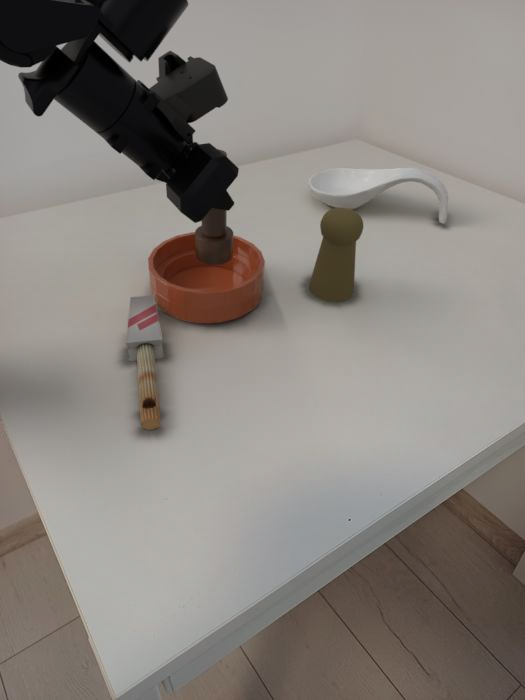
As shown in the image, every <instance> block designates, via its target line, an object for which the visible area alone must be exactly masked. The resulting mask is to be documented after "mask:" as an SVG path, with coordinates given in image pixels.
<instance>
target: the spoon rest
mask: <svg viewBox="0 0 525 700" xmlns="http://www.w3.org/2000/svg"><path fill="white" fill-rule="evenodd" d="M408 182H414V183H419V184H422V185H424V186H426V187H427V188H429V189H431V190H432V192H433V193H434V194H435V195H436V197H437V199H438V202H439V203H438V204H439V210H438V223H440V224H441V225H444V224H446V223H447V219H448V213H449V210H448V209H449V193H448V191H447V190H448V189H447V188H446V186H445V184H444V183H443V182H442V181H441V180H440V179H439V178H438V177H437V176H436V175H433V174H432V173H430V172H428V171H427V170H424V169H419V168H416V167H394V168H392V167H391V168H355V167H354V168H352V167H336V168H335V167H333V168H328V169H322V170H320V171H317V172H315V173H313V174H312V175H311V177H309V179H308V183H307V184H308V185H307V186H308V187H309V189H310V192H311V193H312V194H313V196H314V197H315V198H317V199H318V200H319V202H322V204H325V205H327V206H329V207H331V208H333V209H335V208H346V209H350V210H353V211H354V210H356V209H358V208H360V207H362V206H363V205H365V204H367V203H368V202H370V201H371V200H373V199H374V198H376V197H377V196H379V195H380V194H382V193H383V192H385V191H387V190H389V189H391V188H392V187H395V186H397V185H399V184H402V183H408Z"/></svg>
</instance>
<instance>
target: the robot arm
mask: <svg viewBox="0 0 525 700" xmlns="http://www.w3.org/2000/svg"><path fill="white" fill-rule="evenodd" d="M188 7H189V2H188V0H0V62H3V63H5V64H6V65H9V66H12V67H17V68H21V69H22V68H32V67H33V66H35V65H38V64H39V65H38V67H37V68H36V70H34V71H29V72H23V71H22V72H21V71H20V72H19V73H18V74H17V75H18V76H17V78H18V79H19V81H20V83H21V85H22V87H23V91H24V92H23V93H24V101H25V103H26V104H27V106H28V108H29V109H30V111H31V112H32V113H33V115H34V116H36V117H38V118H39V117H42V116H43V115H44V114H45V113H46V111H47V110H48V108H49V107H50V105H51V104H52V102H53V101H55V102H56V103H58V104H59V105H61V106H62V107H63V108H65V110H67V111H68V112H69V113H70V114H72V115H73V116H74V117H76V118H77V119H78V120H80V121H81V122H82V123H84V124H85V125H86V126H87V127H88V128H90V129H91V130H92V131H94V133H96V134H97V135H99V136H100V138H102V139H103V140H104V141H105V142H106V143H107V144H108V145H109V146H110V147H111V148H112V149H113V150H114V151H116V152H117V153H118V154H123V155H124V156H125V157H127V158H128V159H129V160H131V161H132V162H133V163H134V164H135V165H137V166H138V167H139V168H140V170H142V171H143V172H144V174H145V175H147V176H148V177H149V178H150V179H151V180H153V181H155V180H156V181H159V182H162V183H165V189H166V190H165V192H166V198H167V199H168V200H169V201H170V202H171V204H172V205H173V206H174V207H175V208H177V210H178V211H179V212H180V213H181V214H182V215H184V216H185V217H186V218H187V219H189V220H190V221H192V222H193V223H194V224H197V223H200V222H202V220H203V218H204V217H205V216H206V215H207V213H208V212H209V211H210V210H211V208H215V209H221V210H226V211H227V212H229V211H230V210H231V209H232V208H233V206H235V201H234V200H233V198H232V196H231V195H230V193H229V192H228V189H229V188H230V187H231V185H232V184H233V183H234V181H235V180H236V179H237V178H238V177H239V170H240V168H239V167H238V166H237V165H236V164H235V163H234V162H233V161H232V160H230V158H229V157H228V156H227V157H226V156H225V155H224V154H223V153H221V152H220V151H219V150H220V149H219V148H217V147H215V146H214V145H213V144H211V143H210V142H206V143H198V142H197V141H194V134H195V133H196V129H195V128H194V127H192V125H190V124H192V123H195V122H196V121H198V120H199V119H201V118H202V117H204V116H206V115H207V114H209V113H210V112H212V111H213V110H215V109H216V108H218V109H219V108H221V107H223V106H225V105H226V104H227V102H228V100H229V97H228V95H227V92H226V90H225V87H224V85H223V83H222V80H221V76H220V74H219V72H218V69H217V67H216V65H215V64H213V63H211V62H210V61H208V60H206V59H204V58H202V57H200V56H199V57H192V56H191V55H190V56H189V57H187V58H186V59H187V61H186V60H185V59H183V58H182V57H181V56H180V55H178V54H177V53H175V52H174V51H172V50H169V51H167V52H165V53H164V54H162V55H161V56H159V57H158V58H157V59H158V62H157V63H158V77H155V79H156V83H155V84H153V85H152V86H151V87H148V86H147V85H145V84H144V83H143V82H142V81H141V80H139V79H137V80H136V79H135V78H134V77H133V76H132V75H131V74H130V73H129V72H128V71H127V70H125V69H124V67H122V66H121V65H120V64H119V63H118V62H117V60H115V59H114V58H113V57H112V56H111V55H109V54H108V52H107V51H106V50H105V49H103V48H102V47H101V46H100V45H99V44H98V43H97V42H96V39H97V38H98V36H99V37H100V38H101V39H102V40H103V41H104V42H105V43H106V44H107V45H109V47H110V48H112V50H114V51H115V52H116V53H117V54H118V55H119V56H121V57H122V58H123V60H125V61H126V62H128V63H129V64H130V63H131V62H132V61H133V60H134V57H135V58H136V59H137V60H138V61H139V62H143V60H144V61H146V62H148V61H149V60H150V59H151V58H152V56H153V55H154V54H155V52H156V51H157V49H158V48H159V46H160V45H161V43H162V42H163V41H164V40H165V38H166V37H167V35H168V34H169V33H170V31H171V30H172V28H173V27H174V26H175V25H176V23H177V22H178V20H179V19H180V17H182V15H183V13H184V12H185V11H186V10H187V8H188ZM63 44H64V46H63V47H61V48H59V46H60V45H63ZM218 149H219V150H218Z"/></svg>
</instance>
